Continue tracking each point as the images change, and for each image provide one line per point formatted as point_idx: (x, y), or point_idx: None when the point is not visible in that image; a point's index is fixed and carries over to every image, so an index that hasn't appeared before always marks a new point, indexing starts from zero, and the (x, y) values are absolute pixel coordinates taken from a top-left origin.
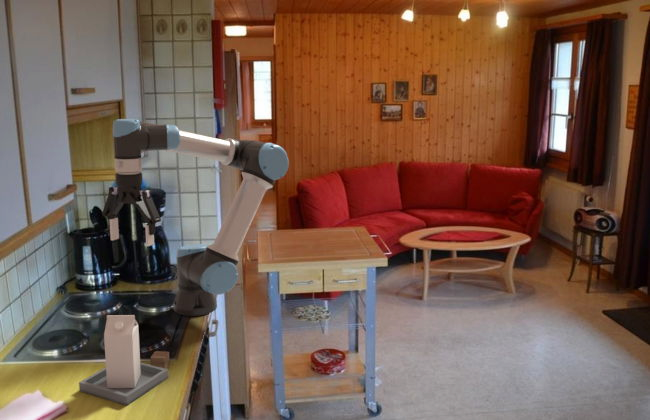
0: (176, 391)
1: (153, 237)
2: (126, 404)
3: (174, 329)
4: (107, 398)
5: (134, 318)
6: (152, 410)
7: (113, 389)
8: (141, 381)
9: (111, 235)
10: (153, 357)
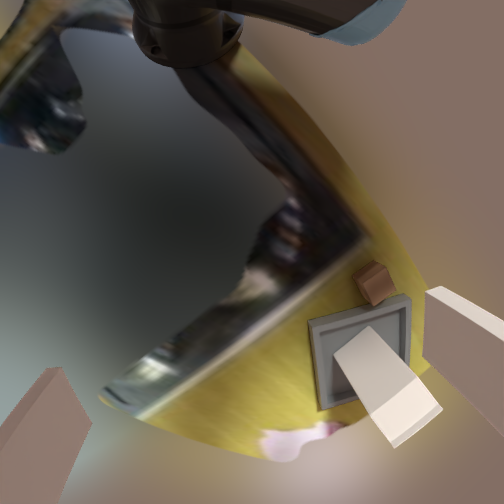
0: None
1: (478, 313)
2: None
3: (250, 132)
4: None
5: (439, 405)
6: None
7: None
8: (382, 334)
9: (73, 448)
10: (378, 302)
